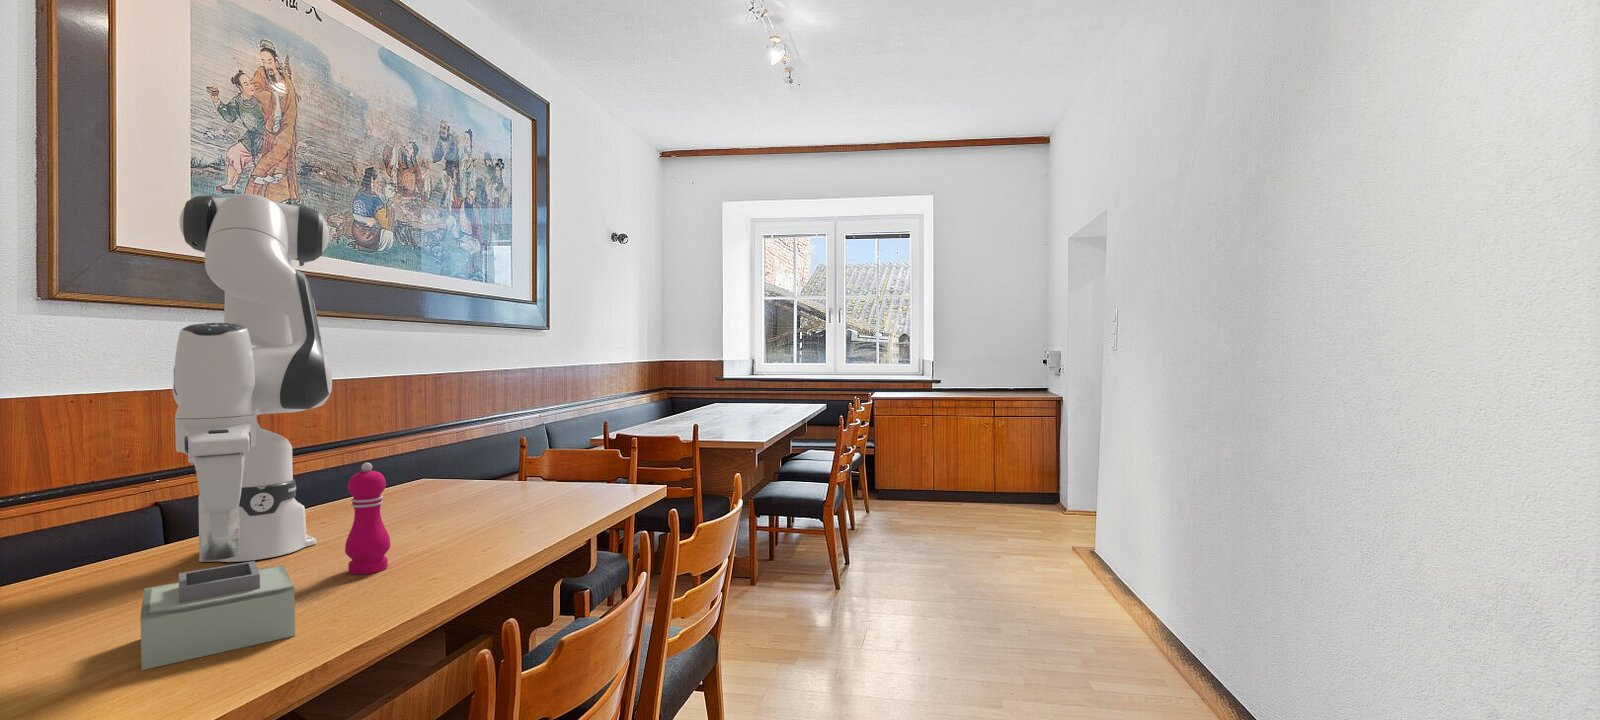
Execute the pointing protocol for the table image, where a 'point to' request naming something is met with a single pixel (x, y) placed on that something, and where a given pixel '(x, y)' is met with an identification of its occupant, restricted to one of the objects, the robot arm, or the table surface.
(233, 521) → the canister
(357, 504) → the pepper mill
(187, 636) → the green square holder
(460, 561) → the table surface
